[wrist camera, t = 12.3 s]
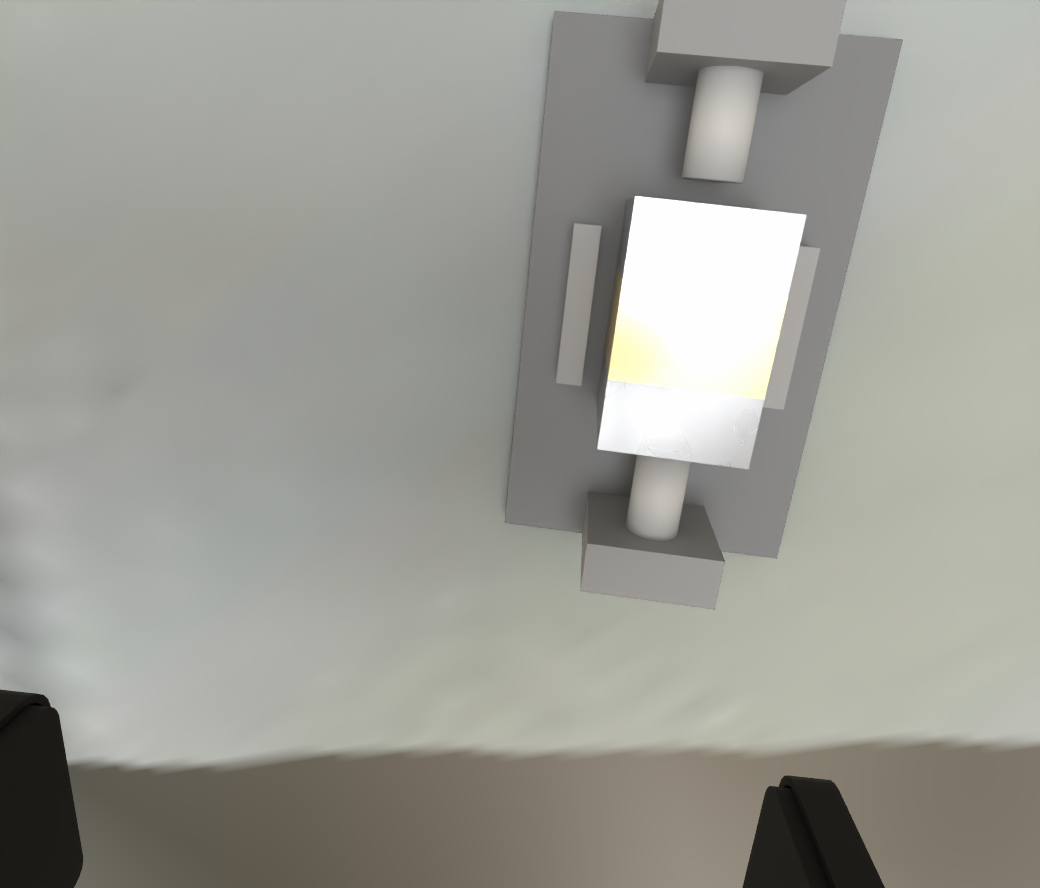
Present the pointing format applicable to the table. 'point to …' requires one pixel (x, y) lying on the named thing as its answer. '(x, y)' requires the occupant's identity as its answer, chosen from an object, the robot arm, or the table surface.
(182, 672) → the table surface
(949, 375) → the table surface
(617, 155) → the shaft stand
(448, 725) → the table surface
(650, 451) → the coupler
